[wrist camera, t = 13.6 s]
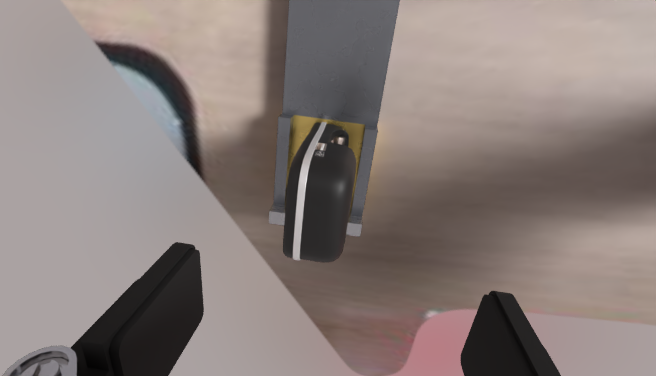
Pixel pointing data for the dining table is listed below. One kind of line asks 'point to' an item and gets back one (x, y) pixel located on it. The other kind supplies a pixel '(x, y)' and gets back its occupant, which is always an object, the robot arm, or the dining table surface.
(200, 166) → the dining table surface
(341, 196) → the battery charger
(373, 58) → the grey and yellow block
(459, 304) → the dining table surface
